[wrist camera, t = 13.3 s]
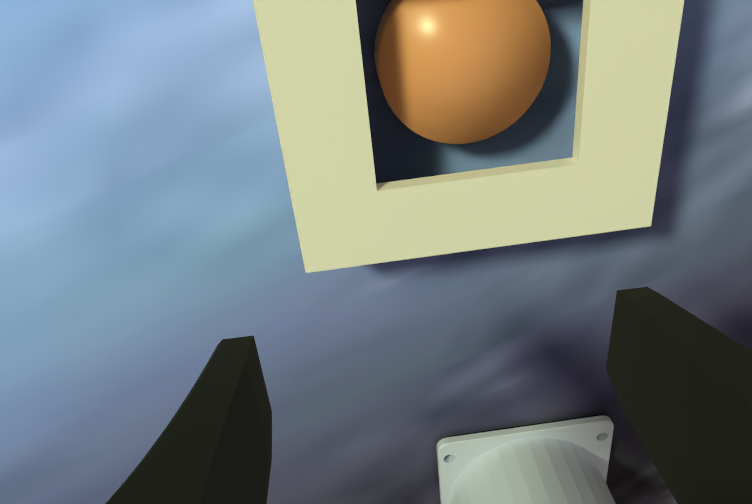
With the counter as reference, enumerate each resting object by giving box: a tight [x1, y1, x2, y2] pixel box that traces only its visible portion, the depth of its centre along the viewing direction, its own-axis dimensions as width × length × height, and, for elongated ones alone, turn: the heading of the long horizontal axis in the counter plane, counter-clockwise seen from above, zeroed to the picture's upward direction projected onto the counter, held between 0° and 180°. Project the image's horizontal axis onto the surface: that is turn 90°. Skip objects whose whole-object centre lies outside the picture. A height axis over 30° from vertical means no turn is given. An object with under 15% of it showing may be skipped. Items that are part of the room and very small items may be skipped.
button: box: [374, 0, 551, 144], centre depth 19 cm, size 5×5×1 cm
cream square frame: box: [253, 0, 684, 273], centre depth 18 cm, size 11×11×3 cm
